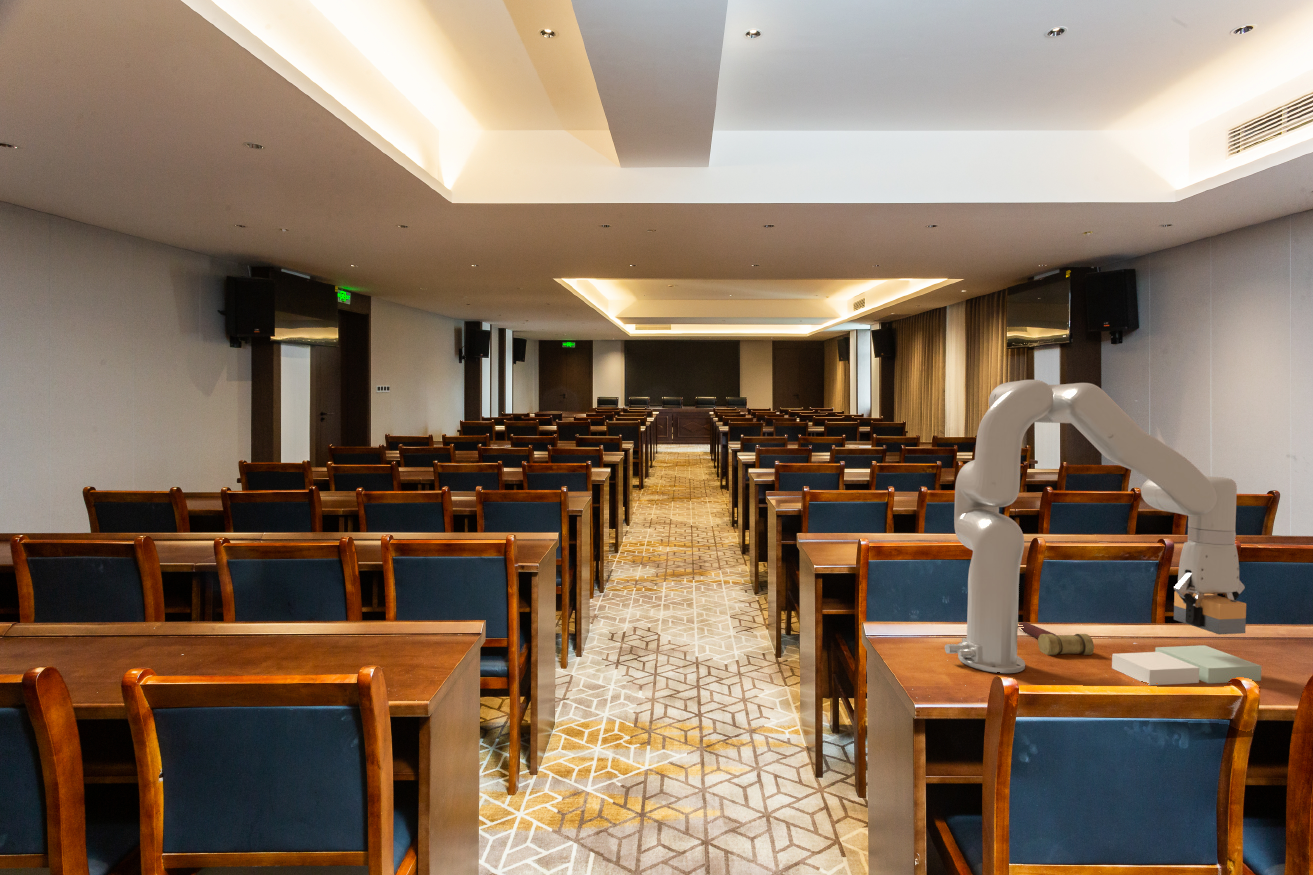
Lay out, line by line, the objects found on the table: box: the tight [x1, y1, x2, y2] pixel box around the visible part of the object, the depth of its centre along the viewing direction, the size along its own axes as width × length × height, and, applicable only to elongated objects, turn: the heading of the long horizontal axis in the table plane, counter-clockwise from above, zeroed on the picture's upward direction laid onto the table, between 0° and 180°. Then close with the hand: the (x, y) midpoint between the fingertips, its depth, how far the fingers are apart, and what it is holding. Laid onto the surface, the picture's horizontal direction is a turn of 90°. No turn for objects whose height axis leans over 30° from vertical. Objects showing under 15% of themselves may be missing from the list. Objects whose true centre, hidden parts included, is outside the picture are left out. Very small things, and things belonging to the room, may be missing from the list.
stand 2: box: [1154, 644, 1262, 684], centre depth 140 cm, size 12×12×3 cm
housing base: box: [1173, 605, 1247, 635], centre depth 139 cm, size 10×6×3 cm, turn 8°
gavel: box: [1018, 621, 1095, 656], centre depth 158 cm, size 21×5×10 cm
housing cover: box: [1173, 590, 1247, 619], centre depth 139 cm, size 10×6×3 cm, turn 8°
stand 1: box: [1111, 651, 1200, 686], centre depth 137 cm, size 11×9×3 cm
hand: (1208, 623), depth 139 cm, fingers closed on housing base, housing cover, 6 cm apart
